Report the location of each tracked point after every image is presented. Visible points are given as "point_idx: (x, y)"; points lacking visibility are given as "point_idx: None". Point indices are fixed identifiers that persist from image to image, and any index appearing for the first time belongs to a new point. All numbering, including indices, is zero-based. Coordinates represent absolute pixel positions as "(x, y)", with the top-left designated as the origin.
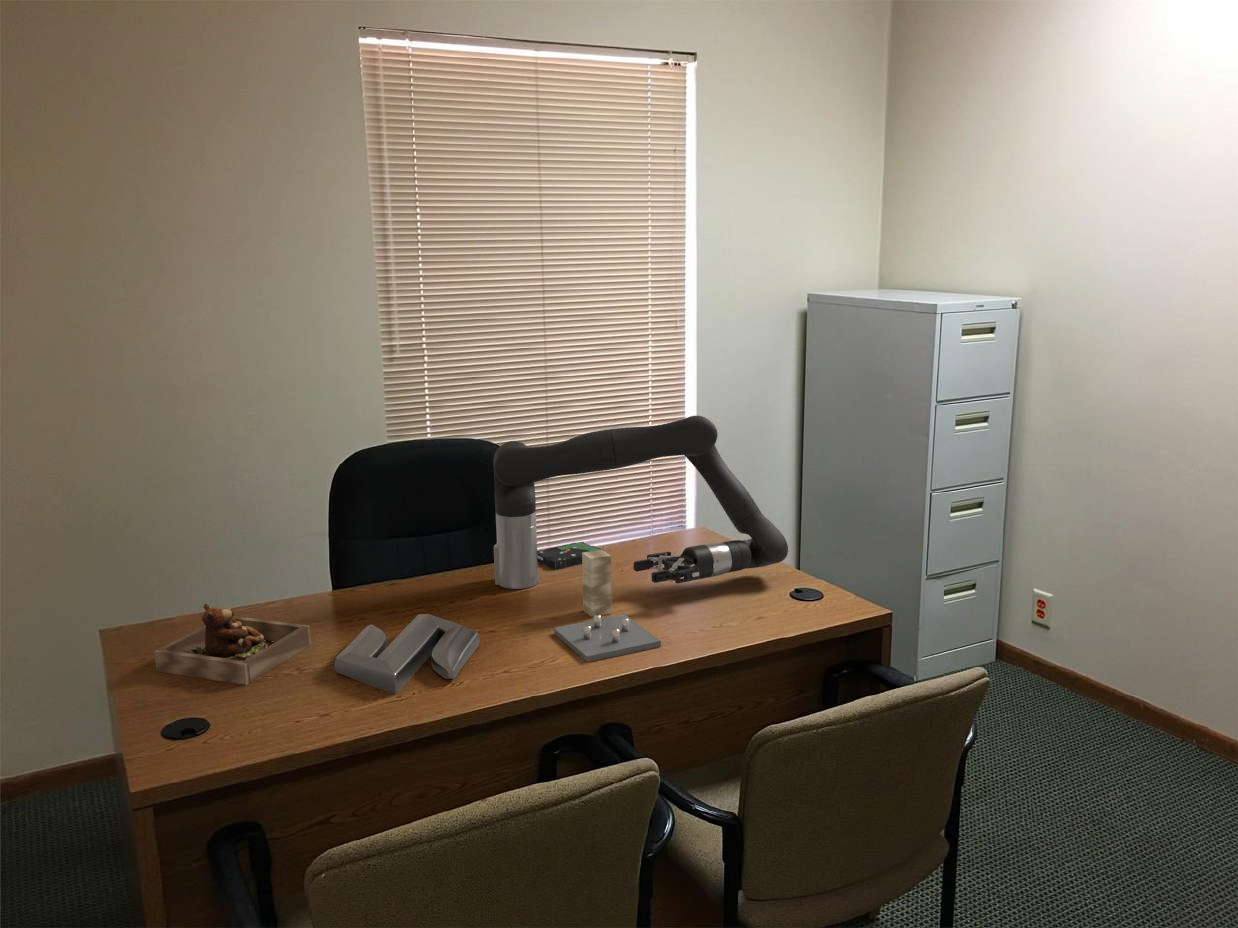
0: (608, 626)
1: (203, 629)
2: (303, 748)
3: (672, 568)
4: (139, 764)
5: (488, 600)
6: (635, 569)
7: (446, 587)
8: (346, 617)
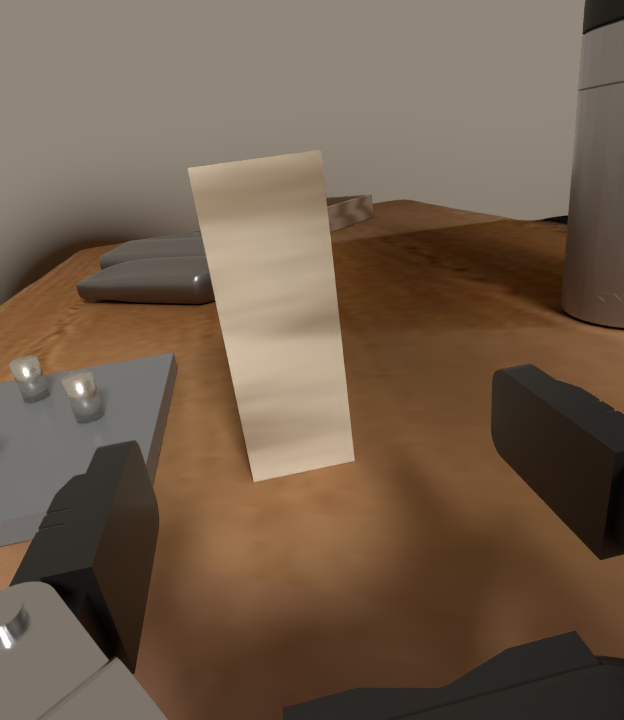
0: (67, 439)
1: (333, 198)
2: (53, 271)
3: (53, 662)
4: (121, 243)
5: (466, 292)
6: (495, 430)
7: (558, 257)
8: (400, 236)
